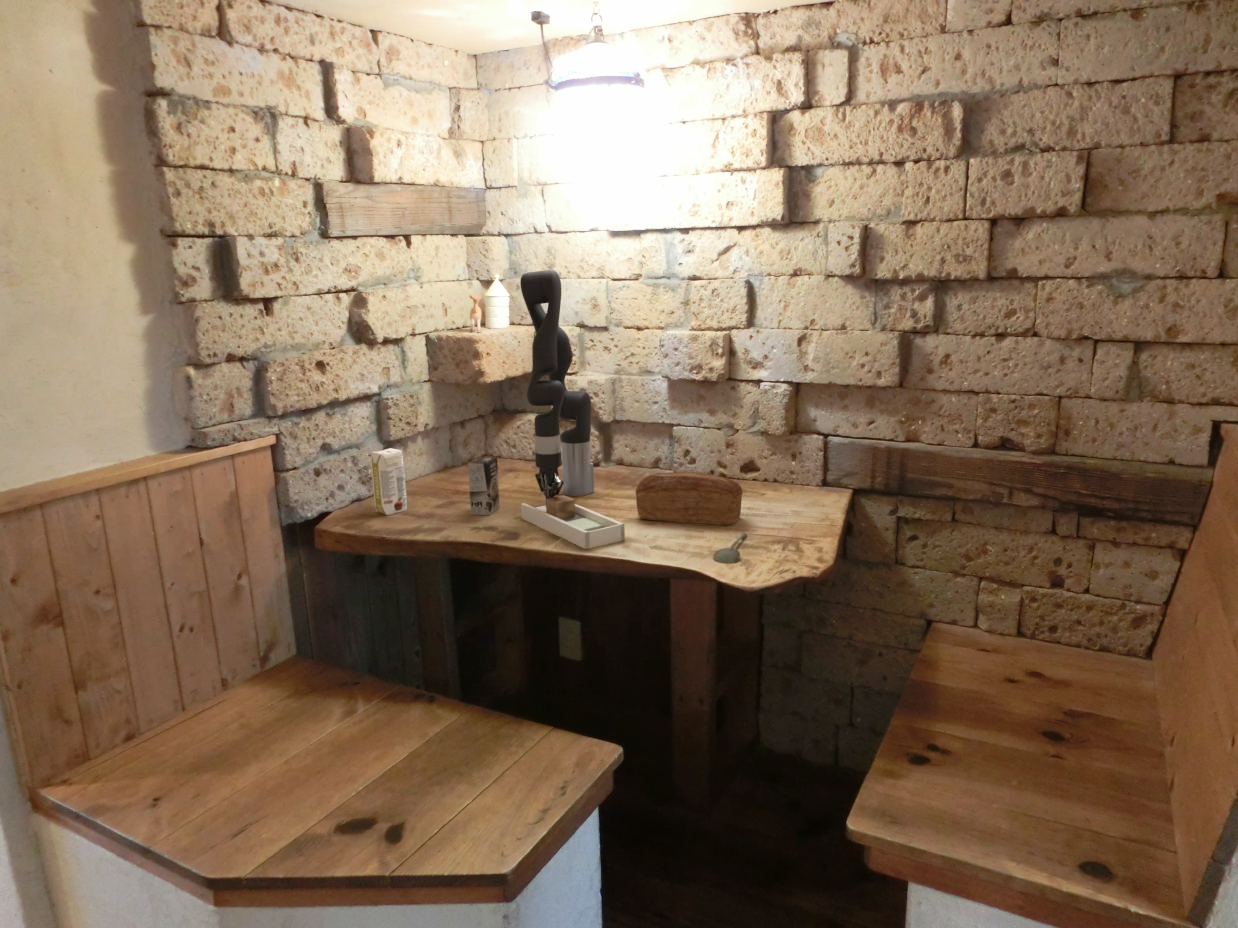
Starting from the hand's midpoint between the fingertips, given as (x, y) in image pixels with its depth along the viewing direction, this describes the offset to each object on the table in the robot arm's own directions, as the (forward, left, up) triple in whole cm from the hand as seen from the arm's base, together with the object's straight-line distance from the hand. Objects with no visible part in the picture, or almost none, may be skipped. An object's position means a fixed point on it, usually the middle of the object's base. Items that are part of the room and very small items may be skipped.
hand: (550, 507), depth 247 cm
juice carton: (+34, -38, -4) cm, 51 cm away
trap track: (0, +11, -4) cm, 11 cm away
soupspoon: (-24, +53, -4) cm, 58 cm away
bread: (-32, +24, -4) cm, 41 cm away
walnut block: (0, +6, -1) cm, 6 cm away
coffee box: (+11, -20, -4) cm, 23 cm away
